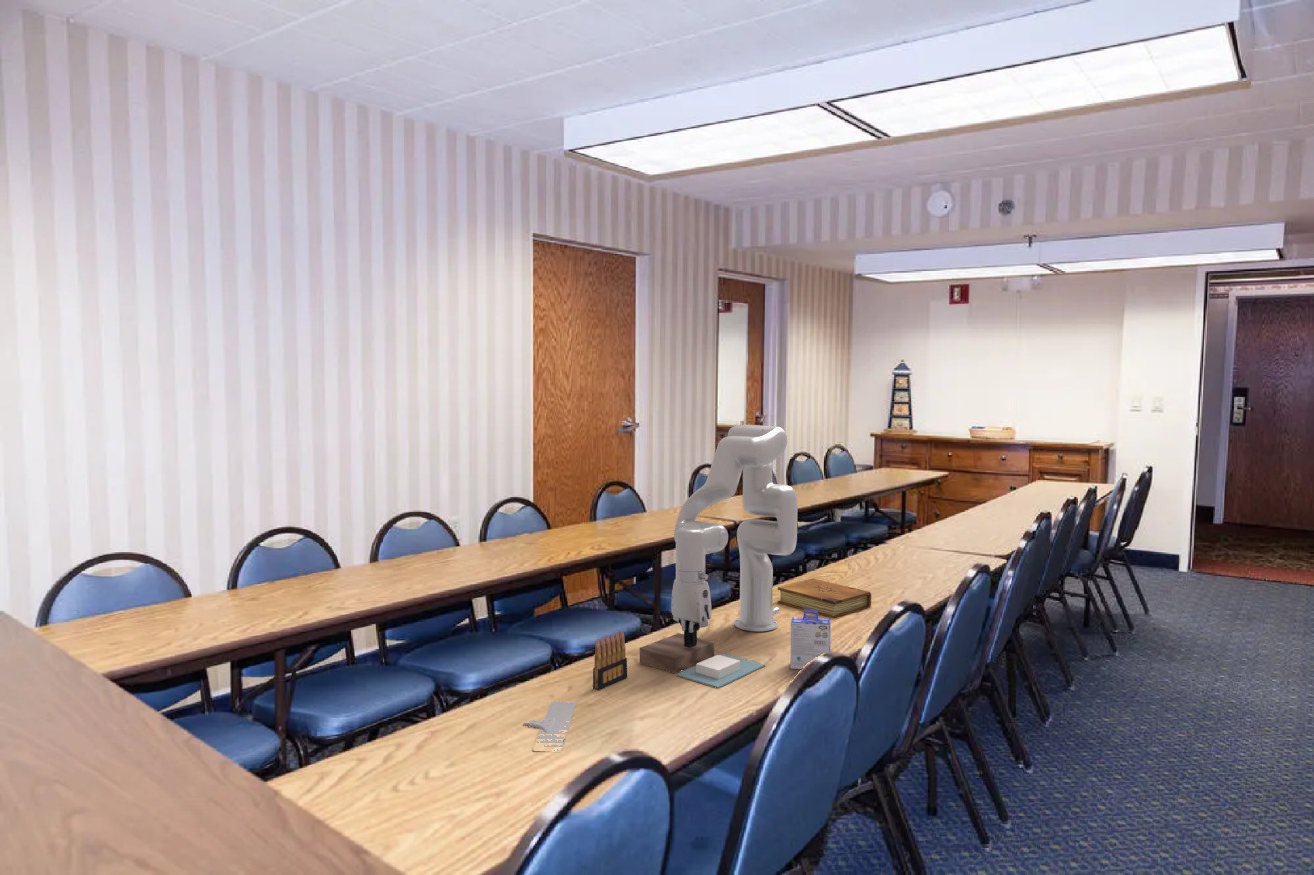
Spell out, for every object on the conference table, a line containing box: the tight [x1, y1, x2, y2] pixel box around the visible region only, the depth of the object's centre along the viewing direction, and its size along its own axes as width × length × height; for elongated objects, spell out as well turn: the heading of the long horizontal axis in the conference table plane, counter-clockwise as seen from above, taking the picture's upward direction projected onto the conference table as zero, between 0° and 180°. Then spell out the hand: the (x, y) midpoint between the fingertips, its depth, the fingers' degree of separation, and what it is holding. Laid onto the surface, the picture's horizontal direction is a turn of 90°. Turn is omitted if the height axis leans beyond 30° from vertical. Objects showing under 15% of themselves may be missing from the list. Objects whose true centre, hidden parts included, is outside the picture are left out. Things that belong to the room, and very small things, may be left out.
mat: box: [675, 653, 766, 689], centre depth 210 cm, size 20×13×1 cm, turn 139°
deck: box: [639, 632, 715, 674], centre depth 218 cm, size 16×12×4 cm
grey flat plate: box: [523, 701, 577, 751], centre depth 178 cm, size 25×24×1 cm
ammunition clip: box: [592, 629, 628, 691], centre depth 201 cm, size 11×2×12 cm, turn 142°
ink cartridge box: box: [789, 609, 831, 670], centre depth 212 cm, size 10×6×14 cm, turn 78°
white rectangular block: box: [695, 654, 740, 679], centre depth 209 cm, size 9×7×2 cm
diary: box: [777, 578, 872, 619], centre depth 270 cm, size 23×19×6 cm
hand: (690, 645), depth 215 cm, fingers closed
